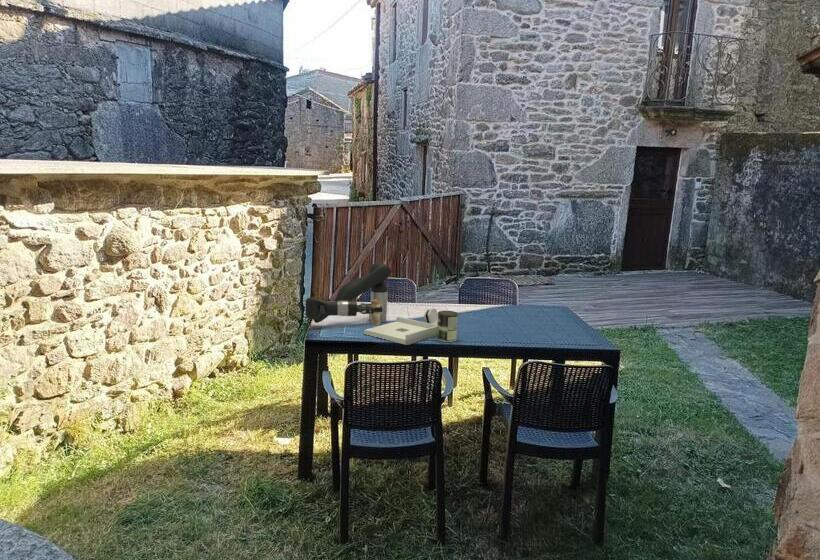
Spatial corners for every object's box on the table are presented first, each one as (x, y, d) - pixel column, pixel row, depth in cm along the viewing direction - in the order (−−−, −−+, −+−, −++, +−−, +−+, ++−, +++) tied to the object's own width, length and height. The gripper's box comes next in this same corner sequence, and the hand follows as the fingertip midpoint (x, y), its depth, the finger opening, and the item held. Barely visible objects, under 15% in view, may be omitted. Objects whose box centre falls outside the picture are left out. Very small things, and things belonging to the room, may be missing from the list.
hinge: (435, 328, 346) (430, 311, 346) (427, 330, 348) (422, 313, 347) (442, 322, 362) (437, 305, 362) (435, 324, 364) (430, 307, 363)
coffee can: (436, 341, 320) (438, 314, 318) (436, 336, 330) (437, 310, 328) (457, 342, 320) (458, 315, 318) (456, 337, 330) (457, 311, 328)
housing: (364, 334, 328) (364, 325, 327) (397, 325, 350) (398, 316, 350) (407, 345, 312) (407, 335, 311) (439, 334, 334) (439, 325, 333)
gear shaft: (370, 324, 312) (370, 300, 310) (375, 322, 315) (375, 299, 313) (376, 325, 310) (376, 302, 307) (381, 324, 313) (382, 300, 310)
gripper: (346, 312, 316) (380, 312, 319) (347, 319, 302) (383, 319, 305) (346, 297, 315) (380, 298, 317) (347, 304, 301) (383, 304, 304)
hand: (381, 308), depth 311 cm, fingers closed on gear shaft, 4 cm apart
